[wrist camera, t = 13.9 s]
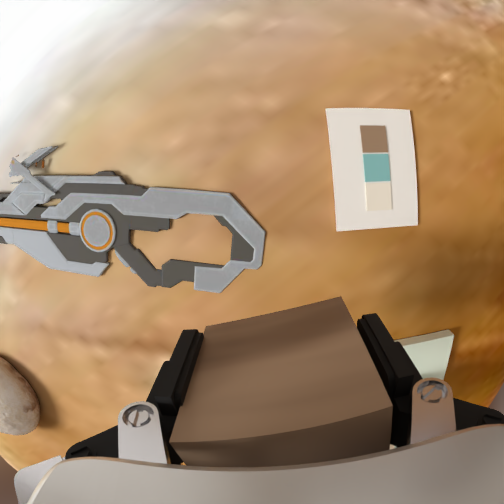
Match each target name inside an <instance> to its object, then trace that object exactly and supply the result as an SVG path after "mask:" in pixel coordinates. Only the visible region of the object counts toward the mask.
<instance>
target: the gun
mask: <svg viewBox="0 0 504 504" xmlns="http://www.w3.org/2000/svg"><path fill="white" fill-rule="evenodd" d="M57 147H58V146H57ZM57 147H53V146H51V147H46V148H41V149H38V150H37V151H35V152H34V153H33V154H32V155H30V156H29V157H28V158H27V159H25V160H24V161H23V162H22V163H19V162H18V161H17V160H16V159H14V158H12V161H11V163H10V169H11V172H10V173H9V177H11V176H18V175H22V176H24V177H25V179H24V180H23V181H22V182H13V183H20V184H19V185H18V186H17V187H16V188H15V189H14V190H13V191H12V192H11V194H0V217H13V218H26V219H39V220H49V221H37V220H25V219H12V218H0V243H4V244H15V245H16V246H17V247H19V248H20V249H22V250H23V251H24V252H26V253H27V254H29V255H30V256H32V257H33V258H35V259H36V260H38V261H39V262H41V263H42V264H44V265H45V266H47V267H48V268H50V269H56V270H61V271H67V272H73V273H79V274H85V275H91V276H97V277H99V276H100V275H101V274H102V273H103V271H104V270H105V269H106V268H107V266H108V265H109V264H110V263H109V262H106V261H108V251H109V250H110V249H112V248H114V249H115V253H116V255H117V257H118V258H119V260H120V261H121V262H122V263H123V264H124V265H125V266H126V267H129V266H130V267H131V269H130V270H131V271H132V272H133V273H135V274H137V275H138V276H139V277H140V278H141V279H142V280H143V281H144V282H145V283H146V284H147V285H148V286H151V287H156V286H157V285H158V286H162V287H168V288H171V287H172V286H174V285H176V284H177V283H179V282H181V281H182V280H183V281H191V282H194V290H200V291H208V292H216V293H221V292H222V291H223V290H224V289H225V288H226V287H227V286H228V285H229V284H230V283H231V282H232V281H233V280H234V279H235V278H236V277H237V276H238V275H239V274H240V273H241V272H242V271H243V270H244V269H258V268H259V267H260V266H261V265H262V258H263V249H264V240H265V231H264V230H263V229H262V228H261V226H260V225H259V224H258V223H257V222H256V221H255V220H254V219H253V218H252V217H251V216H250V215H249V213H248V212H247V211H246V210H245V209H244V208H243V207H242V206H241V205H240V204H239V203H238V202H237V201H236V200H235V198H234V197H233V196H232V195H231V194H230V193H223V192H213V191H202V190H190V189H176V188H161V187H150V188H149V189H147V188H144V186H136V185H132V184H127V183H126V182H125V181H124V179H123V178H122V176H117V175H116V174H115V173H114V172H107V171H101V172H98V173H96V174H95V175H93V176H69V175H59V176H32V175H31V173H30V171H29V170H28V169H27V168H28V167H29V166H30V165H32V164H33V163H36V167H37V162H39V161H40V160H41V159H43V158H44V157H45V156H47V155H48V154H49V153H51V152H52V151H53V150H55V149H56V148H57ZM17 156H19V155H17ZM17 156H16V157H17ZM42 168H44V159H43V160H42ZM13 183H11V184H13ZM5 197H7V198H6V199H5V200H4V201H3V202H2V200H3V199H4V198H5ZM51 198H57V199H61V200H62V201H61V202H60V203H59V204H58V205H57V206H49V207H37V206H38V205H39V204H43V203H46V202H48V201H49V200H50V199H51ZM186 213H193V214H204V215H214V216H215V218H216V219H217V220H218V221H219V222H220V224H221V225H222V226H226V227H227V228H228V229H229V230H230V231H231V233H232V234H233V236H232V248H231V260H230V261H229V262H228V263H227V264H226V265H215V264H206V263H198V262H190V261H181V260H173V259H171V260H169V261H168V262H166V263H165V264H163V265H162V270H159V269H155V267H154V266H153V265H152V264H151V263H150V262H149V260H148V259H147V258H146V257H145V256H144V255H143V253H142V252H141V251H140V250H139V249H135V248H134V246H133V245H132V244H131V243H130V229H133V230H144V231H154V232H158V231H159V230H160V229H163V230H168V229H169V228H170V219H178V218H179V217H181V216H183V215H184V214H186ZM58 221H64V222H70V223H61V222H58ZM6 226H8V227H6ZM15 227H17V228H15ZM25 228H27V229H25ZM35 229H37V230H35ZM44 230H46V231H44ZM58 232H66V233H70V234H64V233H58Z"/></svg>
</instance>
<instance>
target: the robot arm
mask: <svg viewBox="0 0 504 504" xmlns="http://www.w3.org/2000/svg"><path fill="white" fill-rule="evenodd" d="M357 329H358V331H359V334H360V336H361V338H362V340H363V342H364V344H365V346H366V348H367V350H368V352H369V354H370V356H371V359H372V361H373V363H374V365H375V367H376V369H377V371H378V374H379V376H380V378H381V380H382V382H383V385H384V387H385V389H386V391H387V394H388V396H389V398H390V400H391V403H392V405H393V411H392V427H391V439H390V444H391V445H394V449H390V450H386V451H382V452H377V453H372V454H368V455H362V456H357V457H352V458H346V459H339V460H333V461H326V462H318V463H309V464H299V465H288V466H272V467H201V466H186V465H183V464H182V463H183V460H182V459H181V458H180V456H179V455H178V454H177V452H176V451H175V450H174V448H173V447H172V446H171V444H170V443H169V441H170V437H171V434H172V431H173V428H174V425H175V421H176V418H177V415H178V412H179V408H180V406H183V403H184V400H185V396H186V393H187V390H188V387H189V384H190V380H191V377H192V374H193V371H194V368H195V364H196V361H197V358H198V355H199V352H200V348H201V345H202V342H203V339H204V335H203V333H199V332H198V330H197V329H193V330H183V331H182V333H181V336H180V338H179V340H178V342H177V345H176V347H175V349H174V351H173V354H172V356H171V358H170V361H165V362H164V363H163V365H162V367H161V369H160V371H159V374H158V376H157V378H156V380H155V382H154V385H153V387H152V389H151V391H150V394H149V396H148V398H147V400H146V402H144V401H141V402H135V403H131V404H129V405H127V406H126V407H124V408H123V409H122V410H121V412H120V413H119V417H118V425H117V426H115V427H113V428H111V429H108V430H106V431H104V432H102V433H99V434H97V435H95V436H93V437H90V438H88V439H86V440H83V441H81V442H79V443H76V444H75V445H73V446H72V447H70V448H69V449H68V451H67V453H66V456H65V457H64V458H62V457H61V456H57V457H54V458H52V459H49V460H46V461H43V462H40V463H37V464H34V465H31V466H28V467H25V468H23V469H21V470H19V471H18V472H17V473H16V475H15V478H14V485H15V490H16V494H17V498H18V502H19V504H504V415H503V414H502V413H500V412H499V411H497V410H494V409H490V408H487V407H483V406H479V405H476V404H472V403H469V402H465V401H462V400H459V399H455V398H453V394H452V389H451V387H450V386H449V384H448V383H447V382H445V381H444V380H441V379H439V378H432V377H431V378H424V379H423V378H422V376H421V375H420V373H419V371H418V370H417V368H416V367H415V365H414V363H413V362H412V360H411V359H410V357H409V355H408V354H407V352H406V351H405V349H404V348H403V346H402V344H401V343H400V342H398V341H396V342H394V340H393V338H392V337H391V335H390V334H389V332H388V330H387V329H386V327H385V326H384V324H383V323H382V321H381V319H380V318H379V316H378V315H377V314H376V313H374V314H367V315H363V316H362V319H358V321H357Z"/></svg>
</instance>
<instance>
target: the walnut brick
mask: <svg viewBox="0 0 504 504" xmlns="http://www.w3.org/2000/svg"><path fill="white" fill-rule="evenodd" d="M203 335H204V339H203V342H202V345H201V348H200V352H199V355H198V358H197V361H196V364H195V368H194V371H193V374H192V377H191V380H190V384H189V387H188V390H187V393H186V396H185V400H184V403H183V406H180V408H179V412H178V415H177V418H176V421H175V425H174V428H173V431H172V434H171V437H170V441H169V443H170V444H171V446H172V447H173V448H174V450H175V451H176V452H177V454H178V455H179V456H180V458H181V459H182V460H183V462H184V463H185V464H186V465H187V466H201V467H272V466H288V465H299V464H309V463H318V462H326V461H333V460H339V459H346V458H352V457H357V456H362V455H368V454H372V453H377V452H382V451H386V450H389V449H390V439H391V427H392V411H393V405H392V403H391V400H390V398H389V396H388V394H387V391H386V389H385V387H384V385H383V382H382V380H381V378H380V376H379V374H378V371H377V369H376V367H375V365H374V363H373V361H372V359H371V356H370V354H369V352H368V350H367V348H366V346H365V344H364V342H363V340H362V338H361V336H360V334H359V331H358V329H357V327H356V325H355V323H354V321H353V319H352V317H351V315H350V313H349V311H348V309H347V307H346V305H345V303H344V301H343V299H342V297H337V298H333V299H329V300H325V301H321V302H317V303H313V304H309V305H304V306H300V307H296V308H292V309H287V310H283V311H279V312H274V313H270V314H265V315H260V316H256V317H251V318H246V319H241V320H236V321H231V322H226V323H221V324H216V325H211V326H206V328H205V331H204V334H203Z"/></svg>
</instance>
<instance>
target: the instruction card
mask: <svg viewBox="0 0 504 504" xmlns="http://www.w3.org/2000/svg"><path fill="white" fill-rule="evenodd" d="M326 117H327V125H328V134H329V143H330V152H331V163H332V174H333V186H334V200H335V216H336V231H348V230H361V229H373V228H386V227H400V226H413V225H418V201H417V178H416V163H415V151H414V141H413V132H412V124H411V116H410V110H402V109H380V108H326Z"/></svg>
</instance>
